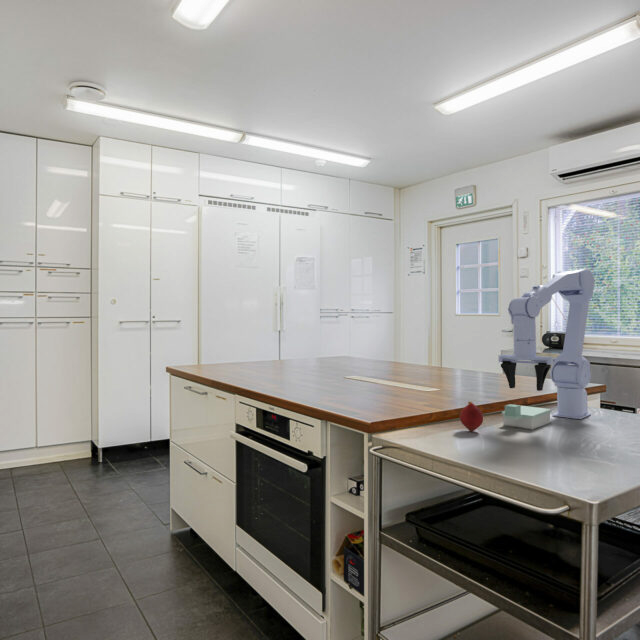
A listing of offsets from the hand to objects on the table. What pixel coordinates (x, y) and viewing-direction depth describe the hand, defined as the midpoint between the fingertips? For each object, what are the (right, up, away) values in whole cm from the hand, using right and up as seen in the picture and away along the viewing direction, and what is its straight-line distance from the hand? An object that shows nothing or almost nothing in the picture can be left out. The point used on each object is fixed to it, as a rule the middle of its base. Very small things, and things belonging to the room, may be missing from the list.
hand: (525, 389), depth 136 cm
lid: (0, -8, 0) cm, 8 cm away
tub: (+1, -10, +2) cm, 10 cm away
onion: (-17, -11, -6) cm, 21 cm away
